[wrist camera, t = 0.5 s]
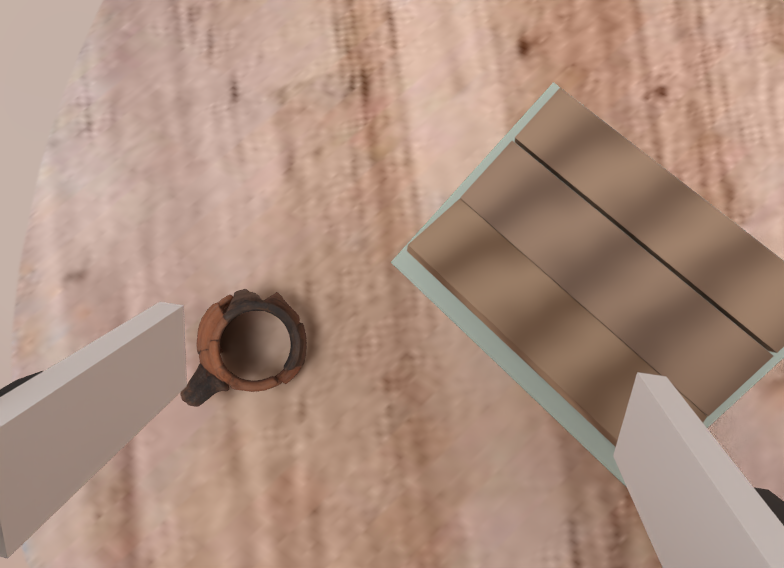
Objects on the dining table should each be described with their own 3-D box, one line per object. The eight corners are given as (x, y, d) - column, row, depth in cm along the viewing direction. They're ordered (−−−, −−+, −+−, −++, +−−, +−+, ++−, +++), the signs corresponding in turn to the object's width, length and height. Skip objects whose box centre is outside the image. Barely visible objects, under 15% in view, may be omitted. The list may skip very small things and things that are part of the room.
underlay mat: (837, 305, 35) (840, 304, 35) (633, 493, 38) (634, 495, 38) (553, 84, 41) (553, 82, 40) (392, 262, 43) (390, 262, 43)
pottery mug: (244, 265, 48) (244, 266, 40) (321, 326, 50) (336, 339, 42) (157, 367, 46) (139, 389, 38) (242, 425, 48) (241, 458, 40)
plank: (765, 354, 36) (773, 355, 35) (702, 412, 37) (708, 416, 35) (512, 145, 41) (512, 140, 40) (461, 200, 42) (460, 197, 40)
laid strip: (823, 300, 35) (834, 300, 34) (768, 351, 36) (777, 352, 35) (558, 93, 40) (559, 87, 39) (514, 142, 41) (514, 137, 40)
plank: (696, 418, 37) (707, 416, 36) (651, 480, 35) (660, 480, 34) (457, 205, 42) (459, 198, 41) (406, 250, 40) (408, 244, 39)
